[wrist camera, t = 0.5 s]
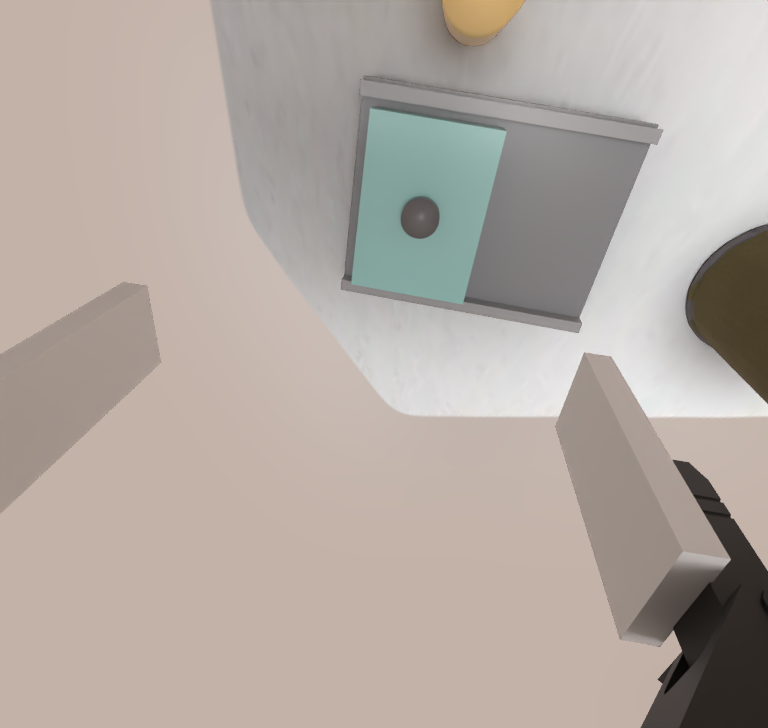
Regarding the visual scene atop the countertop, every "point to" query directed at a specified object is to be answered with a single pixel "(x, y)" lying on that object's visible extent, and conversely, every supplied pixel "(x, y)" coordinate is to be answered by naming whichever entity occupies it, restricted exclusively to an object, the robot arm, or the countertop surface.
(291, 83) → the countertop surface
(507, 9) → the peg
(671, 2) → the countertop surface
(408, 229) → the cover
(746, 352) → the canister
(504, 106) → the housing
